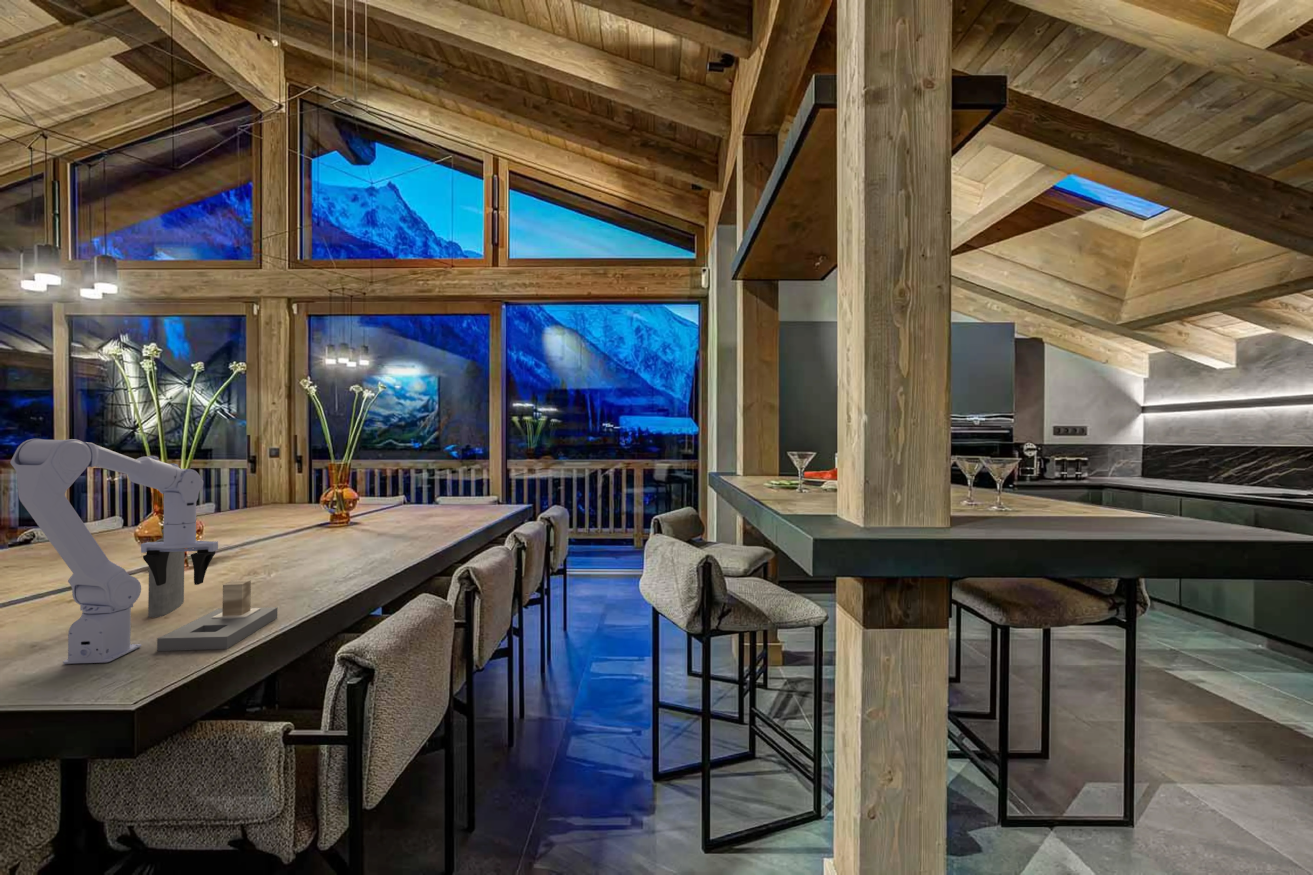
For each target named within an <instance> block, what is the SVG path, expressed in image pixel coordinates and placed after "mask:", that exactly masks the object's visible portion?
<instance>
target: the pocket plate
mask: <svg viewBox="0 0 1313 875" xmlns="http://www.w3.org/2000/svg"><path fill="white" fill-rule="evenodd" d="M222 610H223V608H217V609H215V610H213V611H210V612H208V613H207V614H205V615H203V616H201V617H198V618H196V619H194V620H193V621H191V622H189V623H186V624H184V625H183V626H179V627H178V628H176V629H174V630H172V631H170V632H168V633H166V634H163V635H161V636H160V637H158V638H156V639H157V640H156V641H157V644H156V651H157V652H166V651H167V652H168V651H170V652H171V651H195V650H196V651H197V650H201V651H202V650H203V651H204V650H228V649H229V648H231V647H232V646H235V645H236V644H237V643H239V642H240V641H242V640H244V639H245V638H247V637H249V636H250V635H252V634H254V633H256V632H257V631H259V630H261V629H262V628H264V627H265V626H267V625H269V624H270V623H271V622H273V621H274V620H275V621H276V619H278V607H276V606H275V607H251V609H250V611H248V612H246V613H245V614H243V615H228V616H222Z"/></svg>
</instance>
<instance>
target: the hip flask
mask: <svg viewBox="0 0 1313 875" xmlns="http://www.w3.org/2000/svg"><path fill="white" fill-rule="evenodd" d="M161 533H162V537H161V538H159V539H157V540H156V541H155V542H164V528H163V529H161ZM178 549H186V548H178ZM185 552H186V551H178V552H170V553H169V556H168V561H167V567H166V583H165V584H163V585H160V586H157V585H156V582H155V579H154V576H153V573H152V571H151V569H150V567H149V566H148V595H147V596H148V597H147V599H148V600H147V603H148V604H147V606H148V609H147V615H148V616H147V617H148V618H151V617H153V618H160V616H161V617H164V616H166V615H168V614H170V613H172V612H174V611H175V610H177V609H178V608H180V607H181V606H183V604H184V602H185ZM173 610H174V611H173Z"/></svg>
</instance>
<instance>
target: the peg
mask: <svg viewBox="0 0 1313 875" xmlns="http://www.w3.org/2000/svg"><path fill="white" fill-rule="evenodd" d="M251 588H252V580H251V579H246V580H244V579H243V580H241V579H240V580H239V579H237V580H231V581H227V582H225V583H224V584H223V583H222V609H223V610H222V616H228V615H243V614H245V613H246V612H248V611H250V609H251V608H252V607H251V605H252V604H251V601H252V600H251V598H252V597H251V594H252V593H251V592H252V591H251V590H252V589H251Z"/></svg>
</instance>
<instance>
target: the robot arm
mask: <svg viewBox="0 0 1313 875" xmlns="http://www.w3.org/2000/svg"><path fill="white" fill-rule="evenodd" d="M9 463H10V465H11V466H12V467H13V469H14V470H15V472H16V481H17V493H18V494H17V495H18V499H19V501H20V503H21V504H22V506H23V507H24V508H25V509H26V511H27V512H28V514H30V516H31V518H32V519H33V520H34V522H35V523H36V525H37V526H38V528H39V529H40V530H41V531H42V533H43V534H44V536H45V537H46V538H47V540H48V541H49V543H50V544H51V546H53V548H54V549H55V550H56V552H57V554H58V555H59V557H61V559H62V560H63V562H64V563H65V564H66V566H67V568H68V569H69V570H70V571H71V572H72V575H71V576H70V577H69V578H68V581H67V582H68V583H69V585H70V587H71V590H72V591H71V593H72V598H73V601H74V602H75V603H76V604H78V605H80V609H79V610H80V611H82V613H81V616H80V617H79V618H78V619H77V620H74V622H72V624H71V625H70V627H69V629H68V634H67V636H68V641H67V648H68V649H67V651H68V652H67V653H68V654H67V659H65V660H62V664H63V665H67V664H69V665H71V664H93V663H94V664H95V663H96V664H98V663H99V664H101V663H103V664H104V663H110V662H112V661H114V660H116V659H118V658H120V657H123V656H124V655H126V654H128V653H131V652H132V651H135V650H137V649H138V648H141V647H142V643H132V644H131V631H132V629H131V625H132V624H131V623H132V622H131V621H132V619H131V618H132V617H131V615H132V611H131V610H132V608H134V604H135V603H136V602H137V601H138V599H139V598H140V596H141V593H142V585H141V583H140V580H139V579H138V578H137V577H135V576H133V575H130V574H129V573H128V572H127V571H126V568H123V567H122V566H120V565H118V564H117V563H114V562H113V561H111V560H109V558H108V557H107V555H106V554H105V553H104V550H102V548H101V546H100V545H99V544H98V542H97V541H96V539H95V538H94V536H93V535H92V532H90V530H89V529H88V528H87V525H85V523H84V521H83V520H82V518H81V517H80V516H79V514H78V512H77V511H76V510H75V508H74V507H73V505H72V504H71V502H70V500H68V498H67V497H66V495H65V494H66V493H67V490H68V489H69V488H70V487H71V486H72V485H73V484H74V482H75V481H76V480H77V479H78V478H79V477H80V476H81V474H83V473H84V471H85V470H87V468H95V467H96V468H101V469H104V470H109V471H113V472H117V473H121V474H125V475H127V477H128V480H129V481H130V482H131V483H133V484H137V485H141V486H145V487H148V488H152V489H156V490H157V491H159V493H160V494H162V495H163V529H164V533H163V535H164V542H156V541H151V542H150V541H148V542H143V543H141V544H140V553H143V554H144V553H145V554H144V555H142V560H143V561H145V563H146V564H147V566H148V568H149V567H150V569H151V571H152V573H153V576H154V579H155V582H156V585H157V586H160V585H163V584H165V583H166V567H167V561H168V556H169V553H170V552H178V551H185V552H194V553H191V554H190V558H191V562H192V566H193V584H194V586H198V585H200V584H203V583H204V581H205V576H206V573H207V569H208V567H209V565H210V563H211V562H212V560H213V557H214V556H215V554H216V552H217V551H218V550H219V541H214V540H213V541H208V540H197V501H198V499H199V493H200V492H201V491H202V488H203V486H204V480H202V477H201V475H200V474H199V472H197V471H196V470H195V469H191V468H180V467H179V463H178V464H177V463H167V462H164V461H161V460H159V456H157V455H147V456H141V457H138V458H133V457H130V456H127V455H125V454H121V453H119V452H116V451H113V450H111V449H110V448H109V449H108V448H106V447H104V446H103V447H102V446H101V445H97V444H95V443H93V442H87V441H82V440H79V439H77V438H76V439H73V438H71V439H43V438H31V439H27V440H25V441H23V442H22V443H20V445H18V446H17V448H16V450H15V451H14V453H13V456H12V458H11V460H10V462H9ZM178 548H185V549H178Z"/></svg>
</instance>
